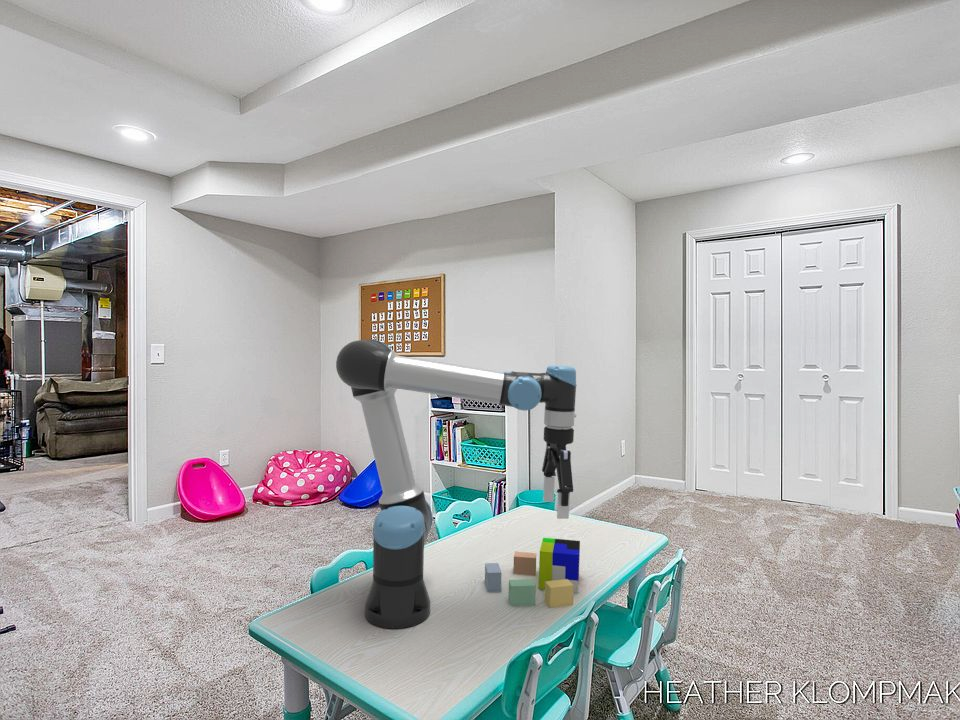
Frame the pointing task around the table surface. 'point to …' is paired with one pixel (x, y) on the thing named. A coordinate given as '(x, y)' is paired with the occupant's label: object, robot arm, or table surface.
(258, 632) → the table surface
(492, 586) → the slate block
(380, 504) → the robot arm
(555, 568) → the puzzle toy
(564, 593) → the ochre block
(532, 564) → the terracotta block
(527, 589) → the green block
